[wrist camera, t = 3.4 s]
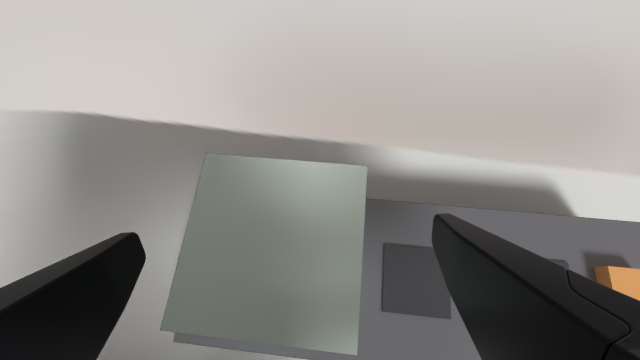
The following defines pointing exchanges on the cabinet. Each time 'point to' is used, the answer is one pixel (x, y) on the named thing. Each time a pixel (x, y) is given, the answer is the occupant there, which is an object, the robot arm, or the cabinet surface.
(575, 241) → the power strip
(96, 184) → the cabinet surface
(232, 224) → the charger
